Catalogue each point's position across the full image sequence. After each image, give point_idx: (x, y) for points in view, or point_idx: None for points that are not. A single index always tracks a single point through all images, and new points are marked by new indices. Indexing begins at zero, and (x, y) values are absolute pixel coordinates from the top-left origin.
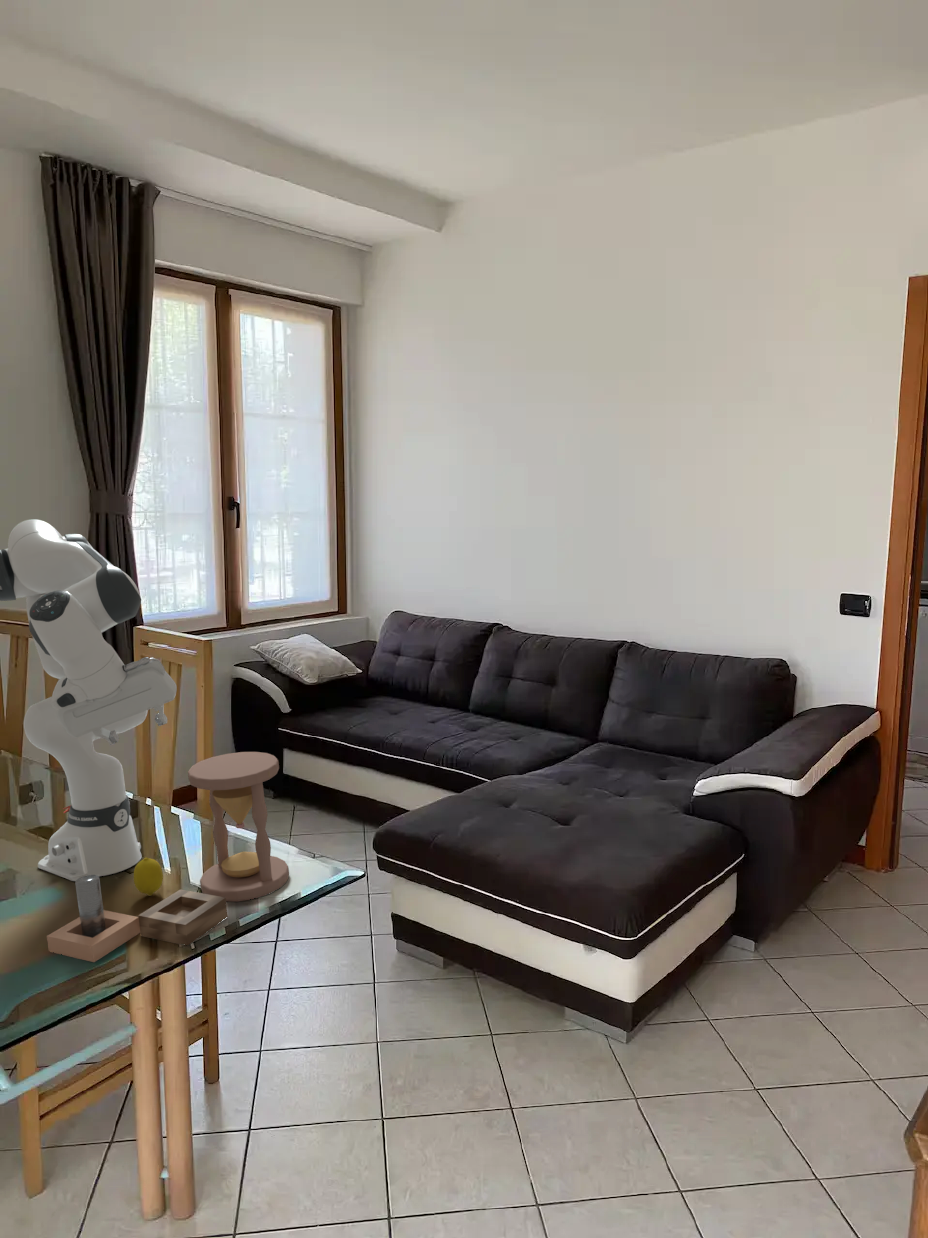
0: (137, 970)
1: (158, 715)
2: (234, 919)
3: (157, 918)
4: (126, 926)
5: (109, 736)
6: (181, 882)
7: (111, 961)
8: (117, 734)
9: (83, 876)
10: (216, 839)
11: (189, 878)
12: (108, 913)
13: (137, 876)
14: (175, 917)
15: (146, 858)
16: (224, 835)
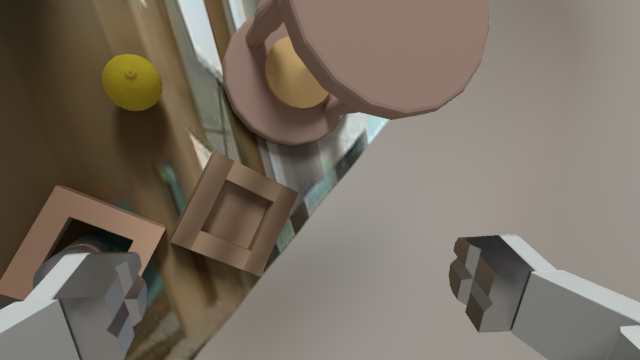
0: (199, 333)
1: (514, 296)
2: (297, 197)
3: (209, 254)
4: (151, 254)
5: (80, 351)
6: (179, 51)
7: (147, 311)
8: (125, 263)
9: (44, 263)
10: (263, 29)
11: (190, 38)
12: (97, 210)
13: (118, 101)
14: (238, 252)
15: (132, 75)
16: (279, 26)
